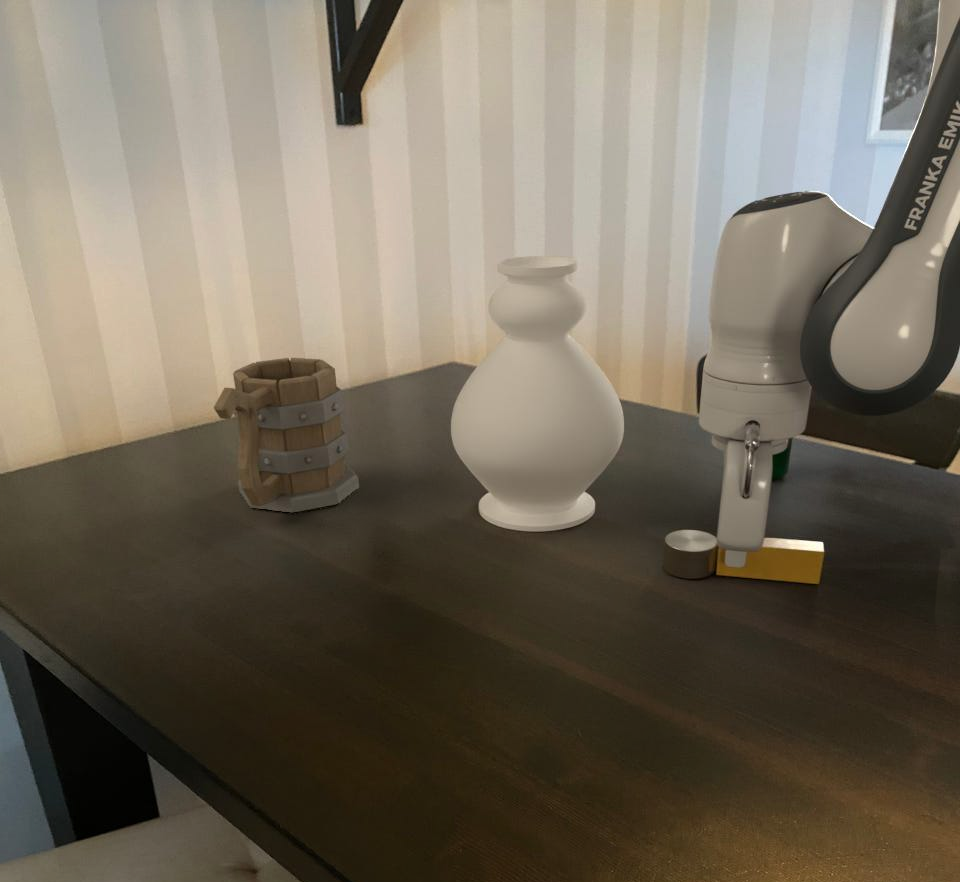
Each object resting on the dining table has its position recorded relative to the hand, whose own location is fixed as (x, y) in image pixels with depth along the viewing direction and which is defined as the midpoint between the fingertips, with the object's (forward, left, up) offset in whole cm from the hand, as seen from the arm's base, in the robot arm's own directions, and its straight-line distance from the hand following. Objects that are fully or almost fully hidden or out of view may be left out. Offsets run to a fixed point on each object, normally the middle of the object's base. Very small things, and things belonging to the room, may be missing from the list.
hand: (735, 555), depth 85 cm
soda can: (-10, -25, -2) cm, 27 cm away
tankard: (+45, -21, -2) cm, 50 cm away
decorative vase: (+17, -17, -2) cm, 24 cm away
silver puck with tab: (-1, 0, -2) cm, 2 cm away
